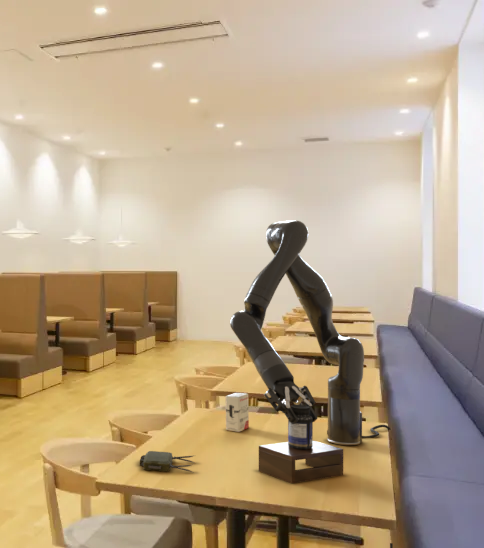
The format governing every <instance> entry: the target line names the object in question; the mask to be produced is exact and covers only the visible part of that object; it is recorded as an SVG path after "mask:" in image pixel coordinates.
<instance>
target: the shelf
mask: <svg viewBox="0 0 484 548" xmlns="http://www.w3.org/2000/svg"><path fill="white" fill-rule="evenodd" d="M301 460H305V461H304V463H305V465H306V466H310V467H307V468H306V467H305V468H299V469H296V461H301ZM258 472H260V473H261V474H262V473H263V474H266V475H268V476H270V477H274V478H276V479H279V480H281V481H284V482H286V483H290V484H296V483H303V482H309V481H310V482H311V481H315V480H321V479H328V478H334V477H340V476H344V448H342V447H338V446H334V445H331V444H328V443H323V442H320V441H317V440H313V444H312V448H311V449H295V448H291V447H289V445H288V441H283V442H277V443H268V444H260V445H258Z"/></svg>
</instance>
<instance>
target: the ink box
mask: <svg viewBox="0 0 484 548" xmlns="http://www.w3.org/2000/svg"><path fill="white" fill-rule="evenodd" d="M249 411H250V410H249V393H248V392H247V393H246V392H234V393H231V394H228V395H225V430H226V431H230V432H237V433H240V432H242V431H244V430H246V429H248V428H249V427H250V425H249V423H250V420H249V419H250V417H249V416H250V414H249V413H250V412H249Z"/></svg>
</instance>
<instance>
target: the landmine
mask: <svg viewBox="0 0 484 548" xmlns="http://www.w3.org/2000/svg"><path fill="white" fill-rule="evenodd" d="M193 457H196V455H185V456H184V455H183V456H173V453H172V452H169V451H156V450H148V451H147V452H146V453H145V454H142V455H141V457H140V459H139V466H141V467H143V470H144V471H158V472H169V471H170V470H171V469H177V470H181V471H185V472H189V473H192V474H193V473H195V472H194V471H192V470H189V469H187V467H191V466H193V464H183V465H182V464H181V465H173V460H179V461H184V462H188V463H194V464H196V462H194V461H192V460H190V459H188V458H193ZM185 467H186V468H185Z"/></svg>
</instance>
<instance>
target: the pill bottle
mask: <svg viewBox="0 0 484 548" xmlns="http://www.w3.org/2000/svg"><path fill="white" fill-rule="evenodd" d="M291 408H292V410H293V412H294V413H295V415H296V416H297V418H298V422H297V423H296V424H291V422H290V421H289V420H288V419H287V430H288V431H287V442H288V445H289V447H291V448H295V449H311V448H312V444H313V441H314V439H313V434H314V433H313V431H314V429H313V427H314V425H313V424H314V422H313V418H312V417H311V416H310V415H309V412H310V407H309V406H306V404H304V405H295V404H291V405H290V409H291Z"/></svg>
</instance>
